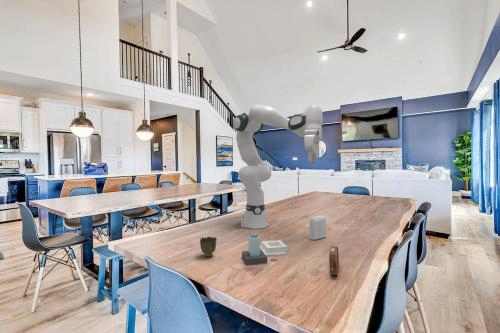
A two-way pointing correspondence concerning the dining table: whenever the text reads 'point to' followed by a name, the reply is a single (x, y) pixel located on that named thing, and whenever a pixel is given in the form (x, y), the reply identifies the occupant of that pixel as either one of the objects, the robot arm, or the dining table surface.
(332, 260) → the tin
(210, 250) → the cup
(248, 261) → the holster
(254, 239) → the plug
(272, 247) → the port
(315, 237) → the photo printer
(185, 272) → the dining table surface
